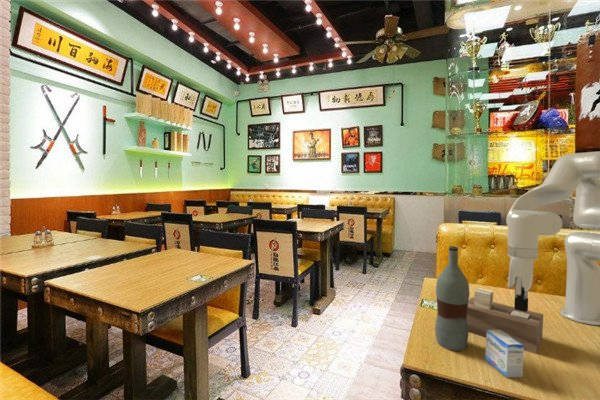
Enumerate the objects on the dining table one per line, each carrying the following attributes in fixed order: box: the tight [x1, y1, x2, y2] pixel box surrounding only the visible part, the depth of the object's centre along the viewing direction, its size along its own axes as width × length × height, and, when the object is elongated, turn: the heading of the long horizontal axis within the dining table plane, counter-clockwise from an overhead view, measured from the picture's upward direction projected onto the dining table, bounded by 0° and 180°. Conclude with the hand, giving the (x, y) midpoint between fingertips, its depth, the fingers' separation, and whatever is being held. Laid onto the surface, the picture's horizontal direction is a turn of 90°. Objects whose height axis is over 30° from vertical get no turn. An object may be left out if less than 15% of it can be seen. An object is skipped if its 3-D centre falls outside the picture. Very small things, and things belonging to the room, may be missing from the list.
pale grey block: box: [510, 310, 530, 320], centre depth 92 cm, size 4×4×8 cm
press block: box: [467, 296, 544, 354], centre depth 96 cm, size 12×20×8 cm, turn 44°
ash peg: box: [474, 287, 494, 310], centre depth 99 cm, size 4×4×8 cm
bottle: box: [434, 245, 470, 352], centre depth 89 cm, size 9×9×30 cm
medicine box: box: [484, 330, 525, 379], centre depth 78 cm, size 8×4×9 cm, turn 4°
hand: (521, 309), depth 92 cm, fingers closed
